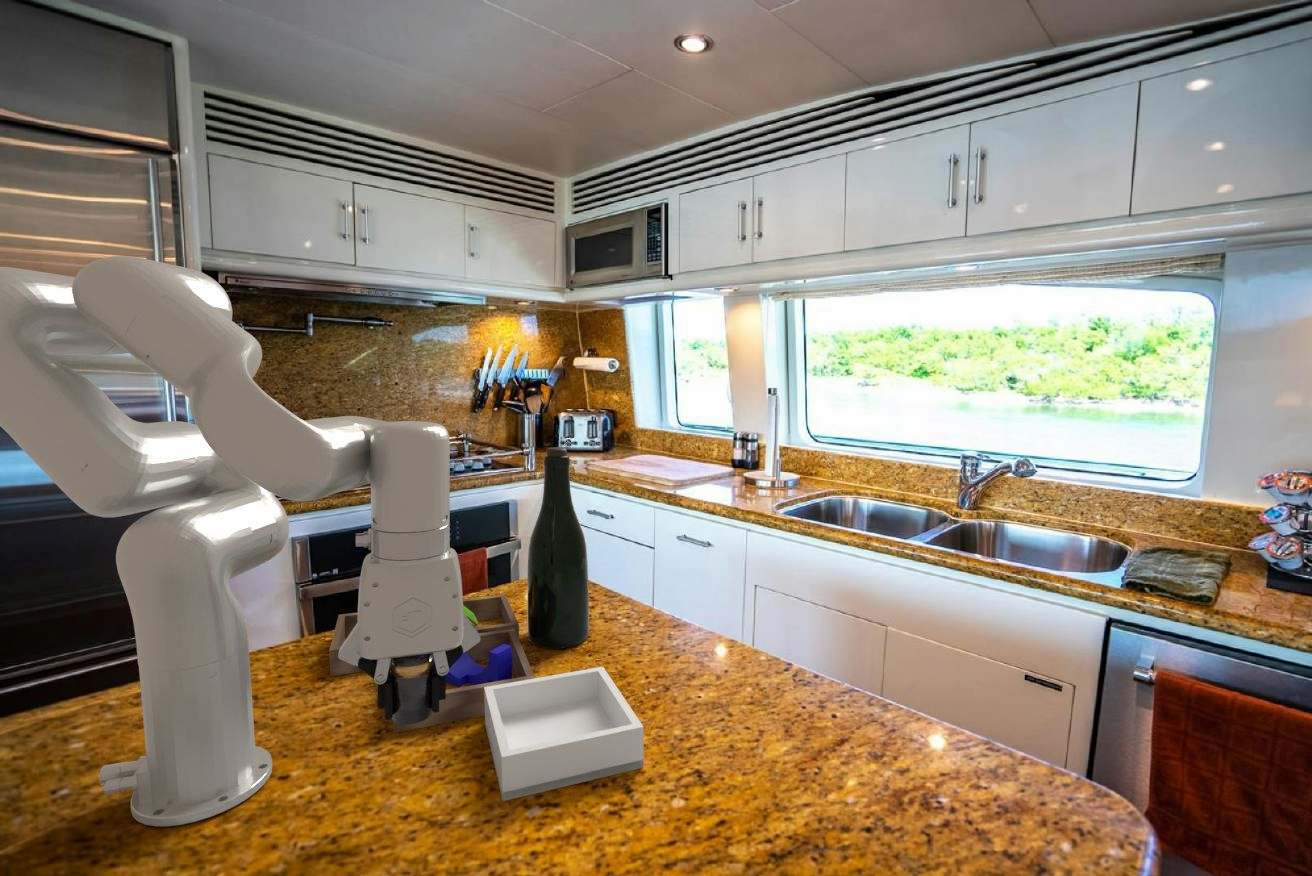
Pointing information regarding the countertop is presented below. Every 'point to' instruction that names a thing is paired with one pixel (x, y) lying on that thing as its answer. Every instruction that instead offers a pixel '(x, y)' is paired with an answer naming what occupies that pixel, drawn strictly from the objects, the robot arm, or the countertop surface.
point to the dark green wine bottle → (557, 563)
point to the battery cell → (412, 688)
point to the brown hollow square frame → (471, 698)
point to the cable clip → (482, 668)
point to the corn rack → (479, 606)
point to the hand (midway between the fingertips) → (412, 708)
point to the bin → (560, 731)
